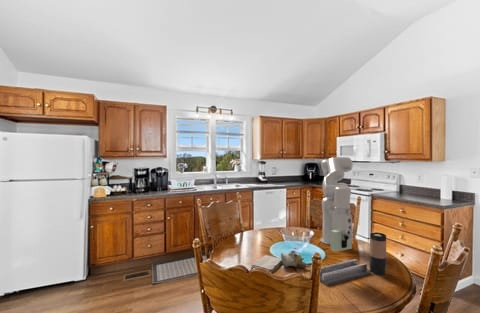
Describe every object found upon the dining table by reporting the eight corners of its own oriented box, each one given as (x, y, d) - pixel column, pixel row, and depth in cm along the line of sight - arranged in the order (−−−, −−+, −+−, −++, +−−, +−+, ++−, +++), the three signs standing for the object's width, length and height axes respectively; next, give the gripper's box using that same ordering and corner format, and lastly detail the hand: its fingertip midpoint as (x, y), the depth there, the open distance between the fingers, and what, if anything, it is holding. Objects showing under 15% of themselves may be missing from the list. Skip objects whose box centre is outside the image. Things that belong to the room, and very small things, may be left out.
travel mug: (385, 276, 124) (386, 237, 124) (368, 272, 128) (369, 235, 128) (386, 270, 130) (386, 233, 130) (369, 267, 134) (370, 231, 134)
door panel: (347, 246, 130) (347, 227, 130) (351, 248, 127) (352, 229, 127) (330, 249, 125) (330, 230, 125) (334, 252, 122) (335, 232, 122)
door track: (351, 264, 138) (352, 257, 138) (371, 273, 127) (371, 266, 127) (310, 274, 125) (310, 266, 125) (327, 286, 114) (327, 277, 114)
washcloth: (250, 269, 131) (250, 264, 131) (264, 257, 146) (265, 252, 146) (270, 275, 125) (270, 269, 124) (283, 262, 140) (283, 257, 140)
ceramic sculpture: (279, 246, 140) (304, 247, 141) (277, 261, 140) (303, 262, 141) (283, 254, 129) (311, 255, 130) (282, 270, 129) (309, 271, 130)
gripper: (360, 213, 120) (360, 250, 120) (335, 207, 135) (334, 240, 135) (349, 215, 117) (349, 253, 117) (324, 208, 132) (324, 242, 132)
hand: (341, 245), depth 126 cm, fingers closed on door panel, 3 cm apart
